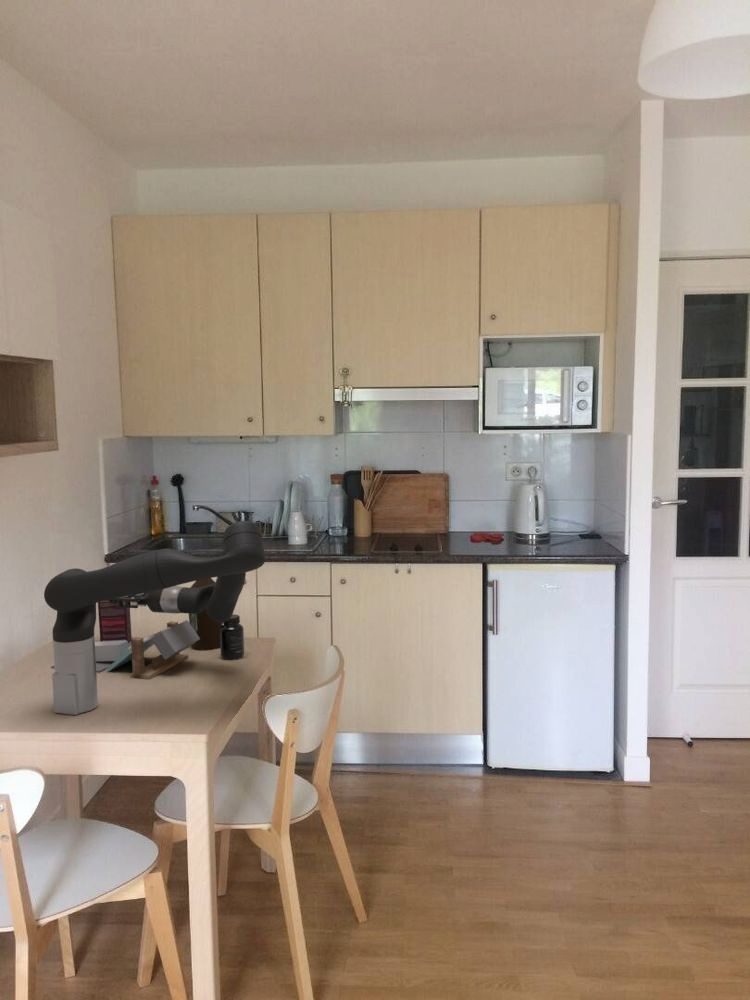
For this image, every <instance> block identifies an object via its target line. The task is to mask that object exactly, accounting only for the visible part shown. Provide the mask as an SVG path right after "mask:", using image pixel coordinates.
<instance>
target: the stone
mask: <svg viewBox="0 0 750 1000" xmlns="http://www.w3.org/2000/svg"><path fill="white" fill-rule="evenodd" d="M128 650H130V648H129V646H128V641H105V642H100V641H95V655H96V661H116V660H117V659H119V658H120V657H121V656H122V655H124V654H125V653H126V652H127V651H128Z"/></svg>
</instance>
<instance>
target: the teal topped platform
mask: <svg viewBox="0 0 750 1000" xmlns="http://www.w3.org/2000/svg"><path fill="white" fill-rule="evenodd" d="M199 639H200V638H199V636H198V635H197V633H196V632H195V630H194V629H193V628H192V626H191V625H190V623H189V619H186V620H184V621H182V622H180V623H178V625H175V626H173V627H168V628H167V627H166V628H164V629H162V630H160V631H157V632H156V633H154V634H151V635H149V636H147V637H145V638H144V637H143V643H144V653H145V652H146V651H148V650H149V649H150V648H151V647H152V646H153V645H154V646H155V648H156V649H157V650H158V652H159V653H160V655H162V656H163V658H164V659H165V660H166V659H168V658H170V657H172V656H174V655H175V654H177V653H179V654H180V653H181V652H183V651H185V650H187V649H188V648H190V647H191V646H192V645H193V644H194V643H196V642H197V641H198V640H199ZM129 662H132V648H129V650H128V651H127V652H126V653H125V654H124V655H122V656H121V657H120V658H119V659H117V660H116V661H115V662H114V663H113V664H111V665H110V666H109V667H108V668H106V670H105V671H106V672H108V673H109V672H111V671H113V670H115V669H116V668H118V667H121V666H122V665H125V664H126V663H129Z"/></svg>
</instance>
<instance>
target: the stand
mask: <svg viewBox="0 0 750 1000" xmlns="http://www.w3.org/2000/svg"><path fill="white" fill-rule="evenodd" d="M178 624H179V622H178V621H168V622H167V623H166V628H168V627H173V626H175V625H178ZM143 639H144V637H133V638H132V639H131V644H130V645H131V648H132V660H131V664H132V665H131V666H132V672H131V673H130V674H129V675H130V677H132V679H140V678H144V680H151V679H153V678H155V677H157V676H159V675H160V674H162V673H164V672H166V671H167V670H169V669H171V668H172V667H175V666H177V665H178V664H181V663H183V662H184V661H185V660H187V659H189V654H183V653H180V652H179V653H177V654H175V655H174V656H172V657H170V658H168V659H166V660H165V659H164V658H163V656H162V655H161V654H159V655H158V656H155V657H153V658H152V660H151V661H152V662H150V663H149V664H147V665H145V652H144V643H143ZM131 648H130V649H131ZM158 674H159V675H158ZM130 677H129V678H130Z"/></svg>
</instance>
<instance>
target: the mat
mask: <svg viewBox="0 0 750 1000" xmlns="http://www.w3.org/2000/svg"><path fill="white" fill-rule="evenodd" d="M114 662H115V661H96V673H101V672H103V671H106V670H105V669H106V668H108V667H109V666H110V665H111V664H113V663H114ZM50 669H55V666H54V665H52V666H51V667H50Z"/></svg>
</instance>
